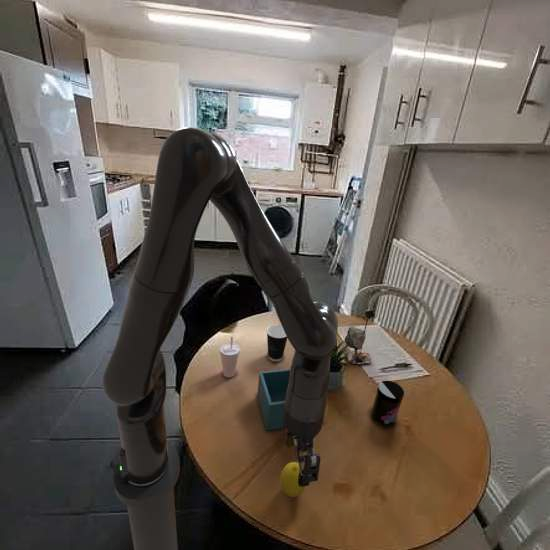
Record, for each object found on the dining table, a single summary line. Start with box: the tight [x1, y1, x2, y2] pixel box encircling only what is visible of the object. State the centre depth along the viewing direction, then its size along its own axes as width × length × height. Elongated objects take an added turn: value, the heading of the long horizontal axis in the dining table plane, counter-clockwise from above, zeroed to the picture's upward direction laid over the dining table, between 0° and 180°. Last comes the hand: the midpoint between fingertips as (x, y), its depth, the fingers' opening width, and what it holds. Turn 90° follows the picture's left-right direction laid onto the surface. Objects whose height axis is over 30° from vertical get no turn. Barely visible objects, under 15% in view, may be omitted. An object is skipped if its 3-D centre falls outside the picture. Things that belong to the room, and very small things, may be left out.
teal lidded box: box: [257, 368, 290, 431], centre depth 87 cm, size 16×13×9 cm
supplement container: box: [371, 380, 405, 427], centre depth 86 cm, size 7×7×10 cm
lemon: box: [279, 461, 307, 498], centre depth 66 cm, size 6×6×8 cm
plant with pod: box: [341, 308, 376, 365], centre depth 109 cm, size 8×11×20 cm
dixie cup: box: [265, 324, 288, 362], centre depth 108 cm, size 8×8×11 cm
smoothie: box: [219, 335, 241, 379], centre depth 97 cm, size 6×6×14 cm
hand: (296, 463), depth 64 cm, fingers open, 8 cm apart
